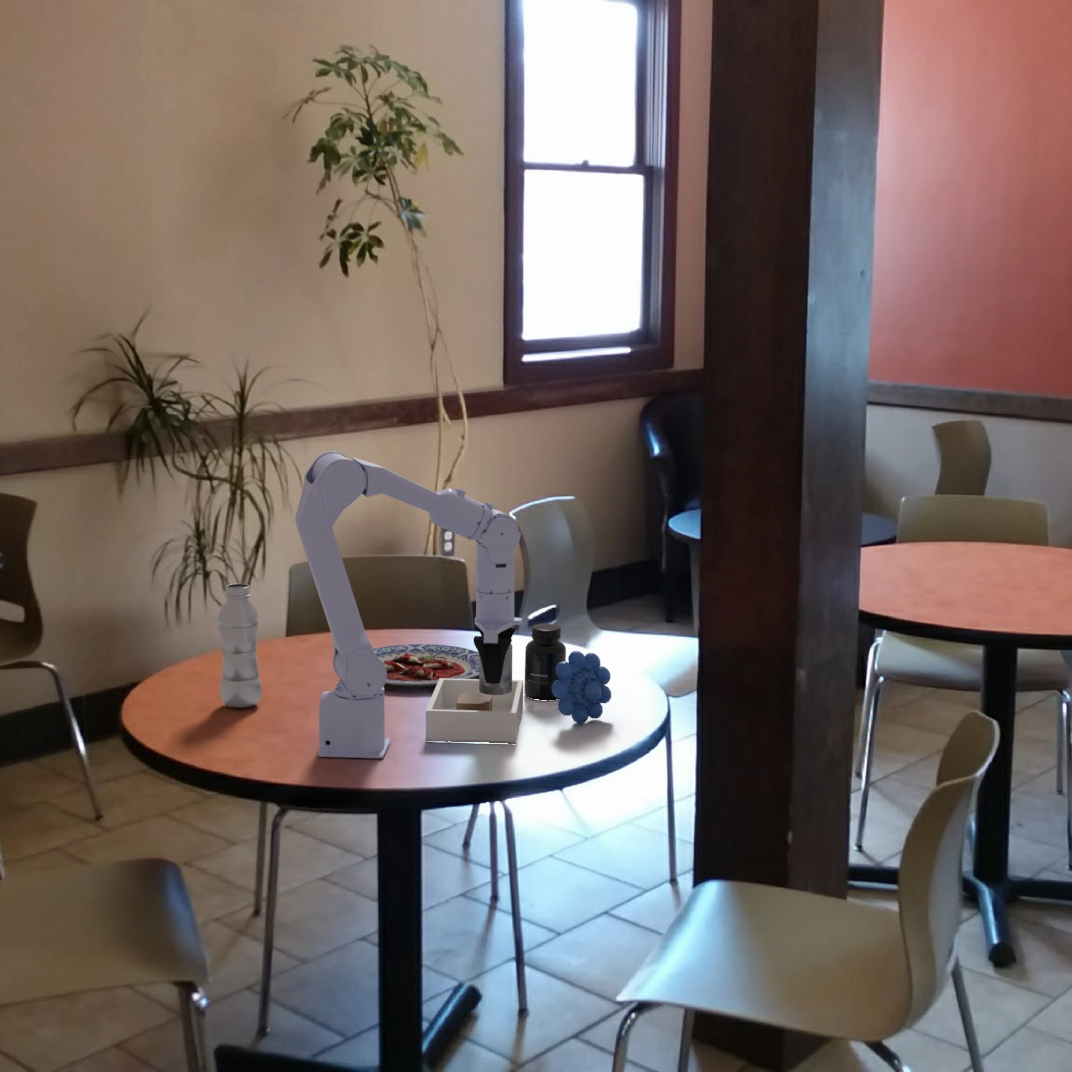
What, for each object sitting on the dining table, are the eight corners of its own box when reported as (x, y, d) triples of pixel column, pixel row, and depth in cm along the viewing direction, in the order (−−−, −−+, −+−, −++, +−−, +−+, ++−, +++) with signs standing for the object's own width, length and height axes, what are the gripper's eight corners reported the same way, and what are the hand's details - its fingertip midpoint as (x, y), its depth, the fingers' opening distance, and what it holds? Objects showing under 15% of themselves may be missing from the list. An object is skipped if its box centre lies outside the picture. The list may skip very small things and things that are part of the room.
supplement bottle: (530, 703, 233) (531, 632, 231) (519, 691, 240) (520, 622, 237) (570, 700, 235) (571, 630, 233) (558, 689, 241) (559, 620, 239)
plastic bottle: (253, 713, 226) (249, 591, 222) (213, 710, 227) (209, 589, 224) (268, 701, 232) (265, 582, 229) (229, 698, 233) (226, 580, 230)
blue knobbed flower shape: (569, 737, 216) (570, 661, 214) (542, 726, 221) (543, 651, 219) (627, 723, 223) (628, 650, 221) (599, 713, 228) (601, 641, 226)
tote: (425, 742, 213) (425, 710, 212) (439, 707, 230) (439, 678, 229) (515, 745, 212) (516, 713, 211) (522, 710, 229) (523, 680, 228)
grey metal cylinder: (476, 694, 212) (477, 649, 211) (481, 685, 217) (481, 640, 216) (510, 695, 211) (510, 650, 210) (513, 686, 216) (514, 641, 215)
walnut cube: (456, 734, 215) (456, 703, 214) (460, 724, 219) (460, 693, 219) (489, 735, 214) (489, 704, 213) (492, 725, 219) (492, 694, 218)
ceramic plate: (434, 704, 233) (434, 686, 232) (314, 680, 246) (314, 663, 246) (518, 669, 254) (518, 653, 254) (404, 648, 268) (404, 633, 267)
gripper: (518, 601, 204) (517, 692, 206) (525, 580, 218) (524, 665, 221) (469, 600, 204) (469, 690, 207) (480, 579, 219) (479, 664, 221)
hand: (494, 677), depth 214 cm, fingers closed on grey metal cylinder, 5 cm apart
